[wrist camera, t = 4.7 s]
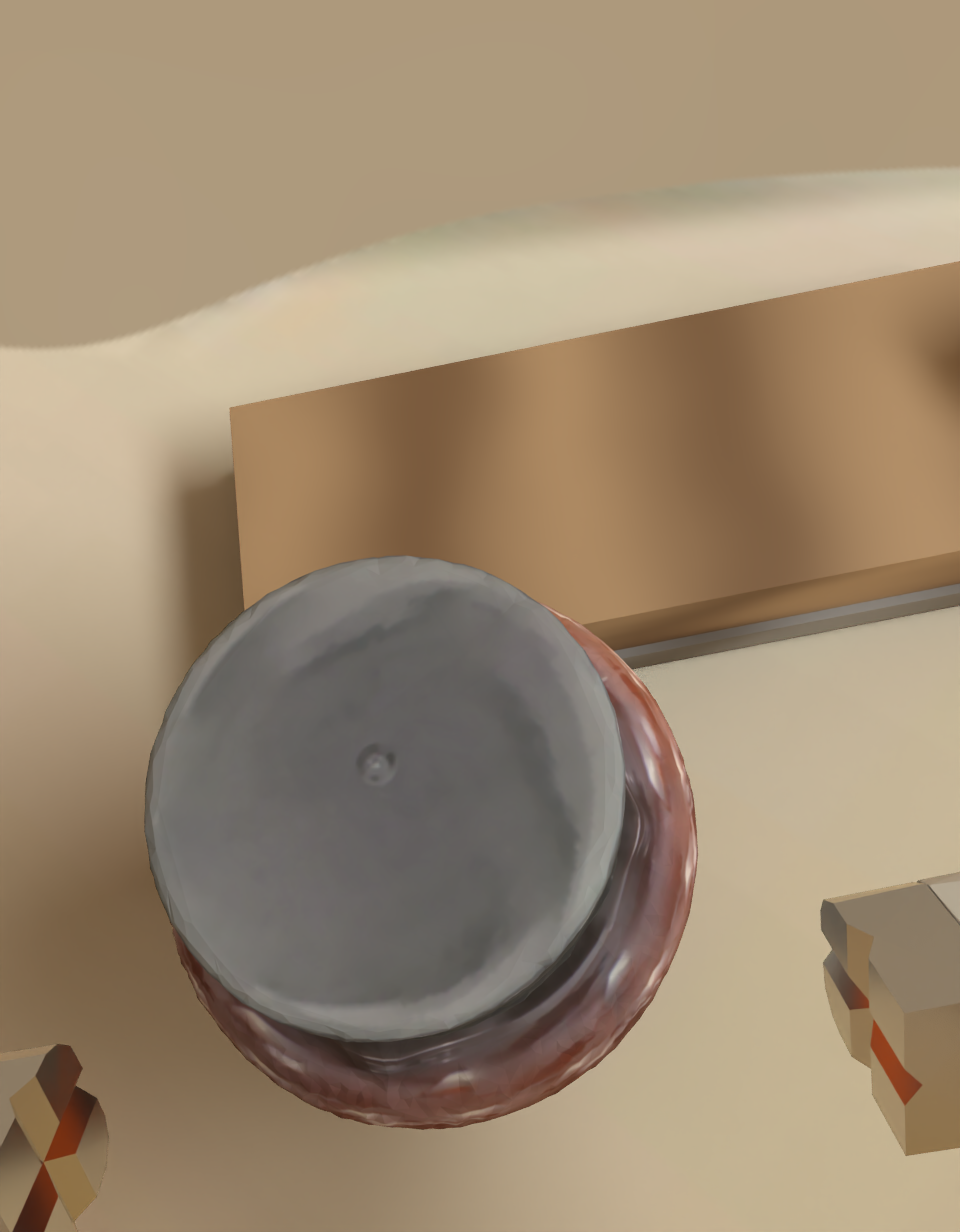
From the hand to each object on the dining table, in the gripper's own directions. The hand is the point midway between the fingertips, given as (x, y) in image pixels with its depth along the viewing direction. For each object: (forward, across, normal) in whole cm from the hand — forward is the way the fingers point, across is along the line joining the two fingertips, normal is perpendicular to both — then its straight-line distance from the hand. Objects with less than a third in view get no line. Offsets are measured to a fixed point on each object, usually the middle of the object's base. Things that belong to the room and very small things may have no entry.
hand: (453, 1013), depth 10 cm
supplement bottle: (+7, 0, +4) cm, 8 cm away
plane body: (+12, -6, -1) cm, 14 cm away
